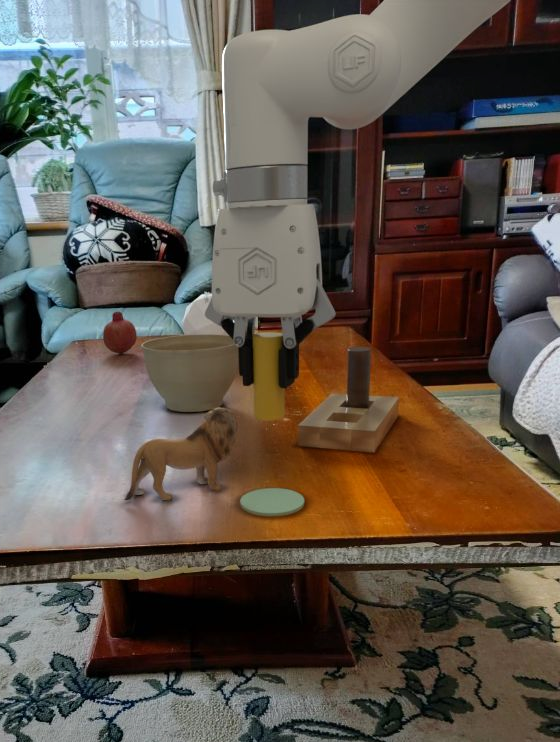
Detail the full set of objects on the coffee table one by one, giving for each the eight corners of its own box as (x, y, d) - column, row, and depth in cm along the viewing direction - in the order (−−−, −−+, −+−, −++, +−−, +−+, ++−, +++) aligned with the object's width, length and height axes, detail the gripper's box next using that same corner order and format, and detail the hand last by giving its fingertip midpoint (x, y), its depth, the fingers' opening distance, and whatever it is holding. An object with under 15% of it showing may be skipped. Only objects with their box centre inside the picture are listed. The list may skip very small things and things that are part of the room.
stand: (398, 416, 102) (399, 397, 101) (374, 453, 88) (374, 430, 87) (331, 412, 107) (331, 393, 105) (297, 446, 92) (297, 425, 91)
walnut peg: (370, 421, 101) (372, 347, 97) (366, 427, 98) (368, 351, 94) (348, 419, 102) (350, 346, 98) (343, 426, 99) (345, 350, 95)
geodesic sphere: (245, 334, 143) (243, 274, 147) (178, 337, 144) (177, 278, 148) (245, 365, 158) (243, 310, 161) (184, 368, 158) (183, 313, 162)
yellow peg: (288, 413, 72) (288, 332, 69) (279, 422, 69) (278, 337, 66) (259, 411, 73) (258, 331, 70) (249, 419, 70) (248, 337, 67)
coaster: (312, 495, 76) (312, 491, 76) (293, 520, 70) (293, 516, 70) (253, 488, 79) (253, 485, 79) (230, 511, 73) (230, 508, 73)
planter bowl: (261, 407, 111) (259, 340, 107) (172, 425, 104) (167, 355, 100) (213, 389, 125) (210, 329, 121) (132, 404, 118) (126, 341, 114)
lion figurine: (226, 470, 85) (222, 400, 82) (249, 483, 80) (246, 409, 77) (116, 498, 78) (108, 423, 75) (134, 513, 74) (127, 434, 71)
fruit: (119, 358, 157) (115, 314, 154) (97, 355, 163) (93, 312, 159) (145, 352, 163) (141, 309, 159) (123, 349, 168) (119, 308, 164)
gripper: (169, 195, 63) (181, 388, 70) (344, 183, 57) (338, 398, 63) (203, 195, 70) (211, 372, 76) (364, 185, 63) (357, 380, 70)
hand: (269, 382), depth 70 cm, fingers closed on yellow peg, 3 cm apart
